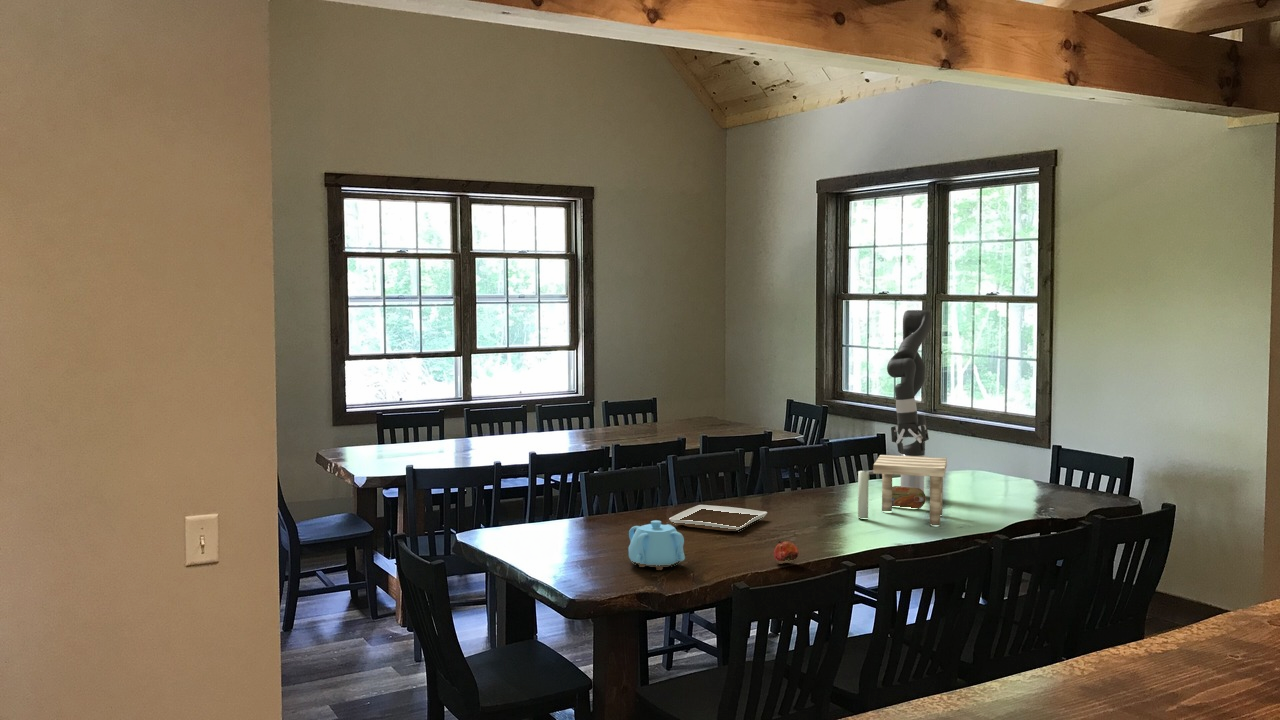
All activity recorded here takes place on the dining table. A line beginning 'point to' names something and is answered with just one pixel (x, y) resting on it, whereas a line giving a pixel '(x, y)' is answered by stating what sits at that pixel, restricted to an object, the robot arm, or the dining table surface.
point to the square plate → (716, 508)
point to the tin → (908, 497)
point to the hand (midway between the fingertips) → (911, 452)
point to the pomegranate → (785, 551)
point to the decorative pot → (656, 544)
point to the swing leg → (863, 493)
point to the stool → (916, 467)
